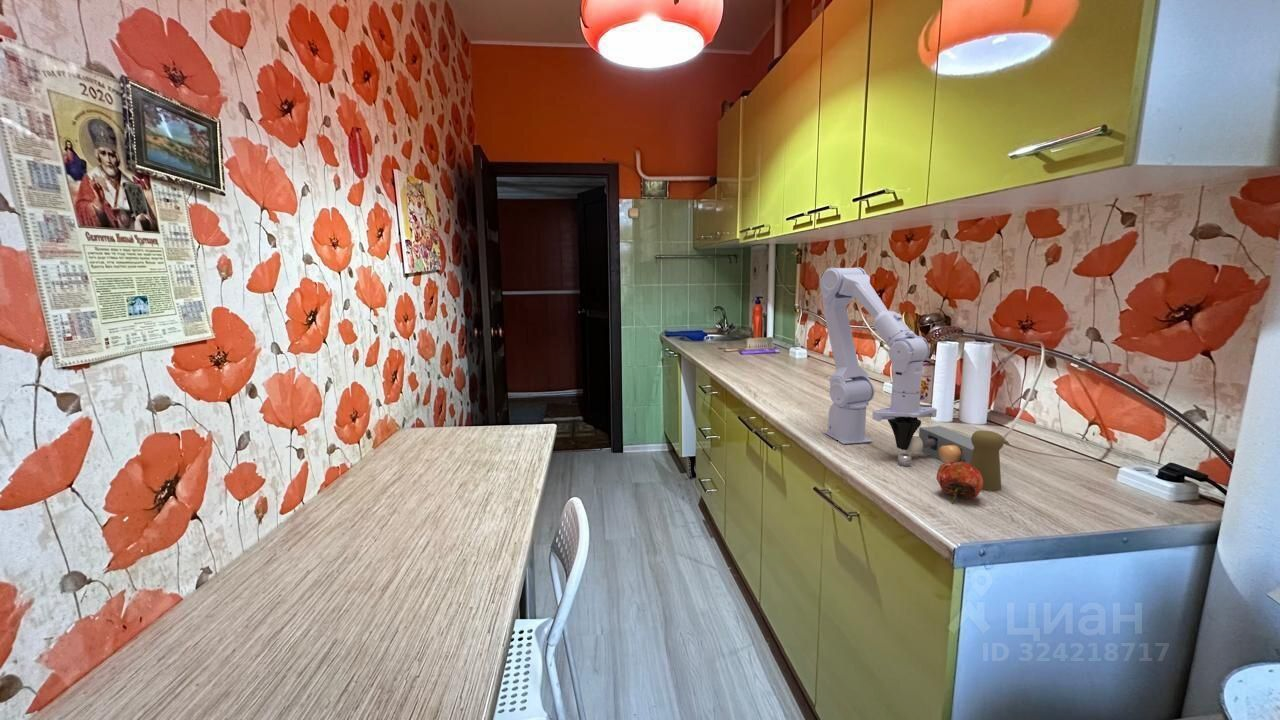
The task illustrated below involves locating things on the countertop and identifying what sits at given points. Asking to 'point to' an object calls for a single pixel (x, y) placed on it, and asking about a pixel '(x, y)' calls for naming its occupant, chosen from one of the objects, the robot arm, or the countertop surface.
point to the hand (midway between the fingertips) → (902, 448)
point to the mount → (946, 441)
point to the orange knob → (950, 453)
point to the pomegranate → (960, 479)
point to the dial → (904, 460)
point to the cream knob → (921, 444)
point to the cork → (987, 458)
